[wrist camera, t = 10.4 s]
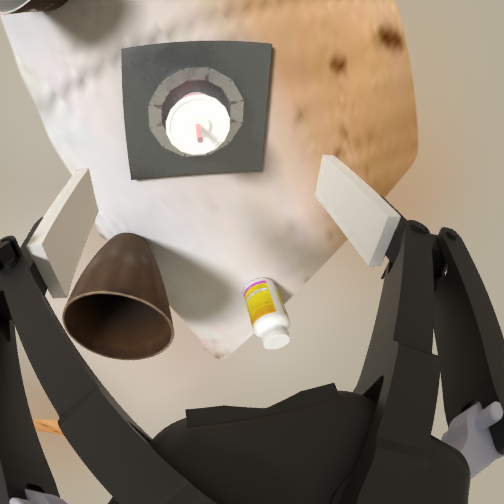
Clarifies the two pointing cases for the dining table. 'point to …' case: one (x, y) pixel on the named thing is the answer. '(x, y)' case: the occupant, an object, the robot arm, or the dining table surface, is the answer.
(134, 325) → the plant pot
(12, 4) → the coffee mug
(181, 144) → the beverage cup
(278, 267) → the dining table surface
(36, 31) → the dining table surface
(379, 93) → the dining table surface
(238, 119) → the sleeve block
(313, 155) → the dining table surface
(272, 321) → the supplement bottle
